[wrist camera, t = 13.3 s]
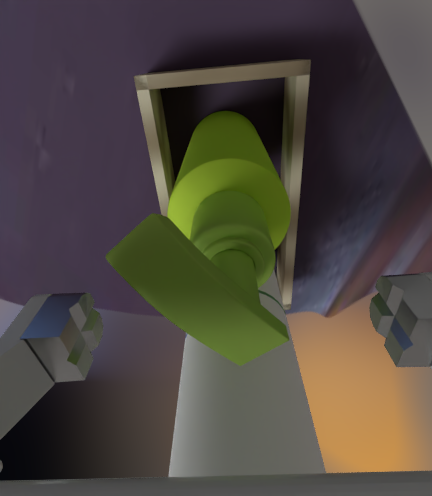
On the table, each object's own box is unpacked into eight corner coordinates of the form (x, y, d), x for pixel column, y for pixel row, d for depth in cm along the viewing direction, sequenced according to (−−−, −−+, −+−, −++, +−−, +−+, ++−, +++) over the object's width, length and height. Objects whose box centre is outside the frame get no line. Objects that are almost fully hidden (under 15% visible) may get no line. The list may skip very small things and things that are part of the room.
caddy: (146, 73, 22) (133, 76, 19) (296, 59, 21) (310, 59, 18) (185, 289, 34) (182, 314, 30) (283, 283, 33) (290, 309, 30)
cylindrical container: (191, 218, 29) (113, 659, 8) (264, 209, 28) (396, 661, 7) (203, 275, 32) (173, 670, 12) (268, 268, 32) (360, 673, 11)
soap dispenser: (219, 82, 22) (218, 159, 5) (273, 150, 25) (382, 342, 8) (166, 136, 24) (51, 309, 8) (221, 194, 27) (225, 414, 10)
